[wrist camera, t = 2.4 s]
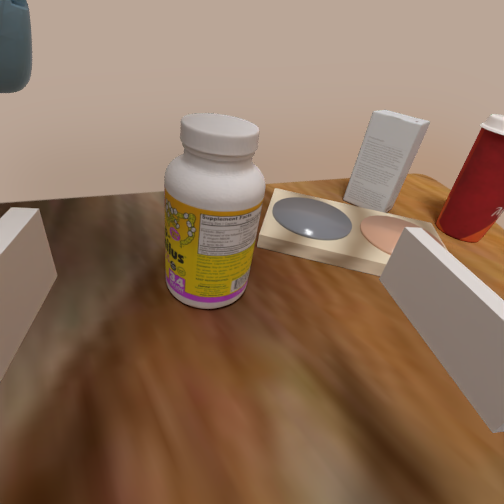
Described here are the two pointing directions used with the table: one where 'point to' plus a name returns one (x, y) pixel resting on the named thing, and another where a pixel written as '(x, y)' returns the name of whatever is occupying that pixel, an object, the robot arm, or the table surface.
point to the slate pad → (311, 218)
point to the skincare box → (384, 159)
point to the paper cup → (477, 186)
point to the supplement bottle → (212, 210)
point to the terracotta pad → (386, 231)
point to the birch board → (331, 251)
